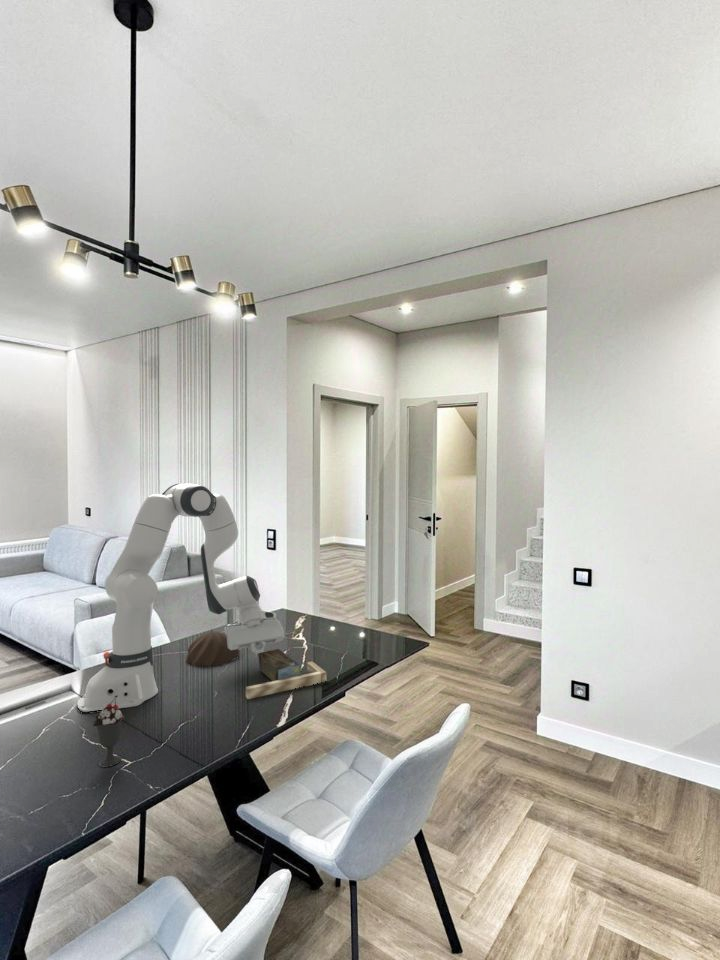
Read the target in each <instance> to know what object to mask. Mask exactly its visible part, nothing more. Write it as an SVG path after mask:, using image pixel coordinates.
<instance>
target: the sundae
mask: <svg viewBox="0 0 720 960" xmlns="http://www.w3.org/2000/svg"><path fill="white" fill-rule="evenodd" d="M115 697H118V695H117V696H115ZM115 697H114V698H115ZM113 700H114V699H113ZM115 701H116V698H115ZM112 702H113V701H112ZM112 702H111V703H112ZM111 703H110V704H108V705H107V706H106V707H105V708H104V709H103V710H102V711H99V712H100V713H99V716H98V715H97V714H94V717H95V719H94V720H93V722H92V724H93V727H96V729H97V733H98V739H99V742H100V743H99V744H100V745H101V746H102V747H103V748H105V749H106V752H107V755H106V757H105V758H102V759H101V760H100V761H101V763H100V764H101V766H110V765H115V764H117V765H118V764H120V763H121V761H122V760H123V758H122V756H120V755H115V754H114V752H113V751H114V750H113V748H114V746H115V745H117V744H118V742H119V741H120V735H121V726H122V721H123V719H124V718H126V717H125V715H123V714H122V712H121V710H120V709H119V708H118V706H117V705H116V702H115V705H114V706H113V707H112V705H111ZM119 762H120V763H119ZM115 766H116V765H115Z"/></svg>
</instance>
